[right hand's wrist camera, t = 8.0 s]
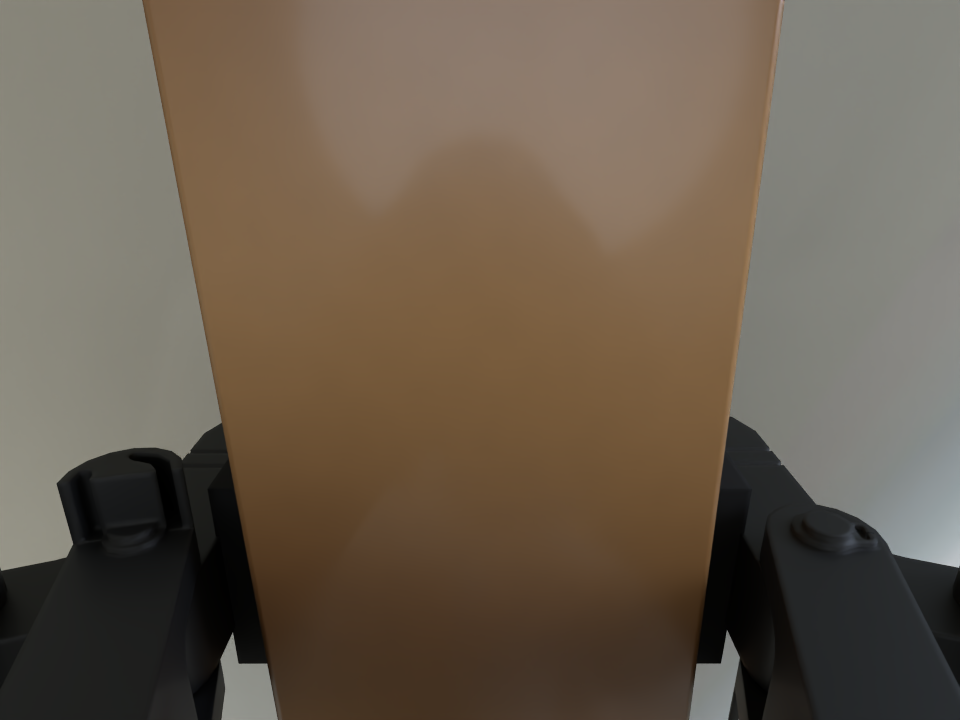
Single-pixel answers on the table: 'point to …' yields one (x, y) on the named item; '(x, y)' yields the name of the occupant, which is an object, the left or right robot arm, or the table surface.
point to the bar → (472, 333)
